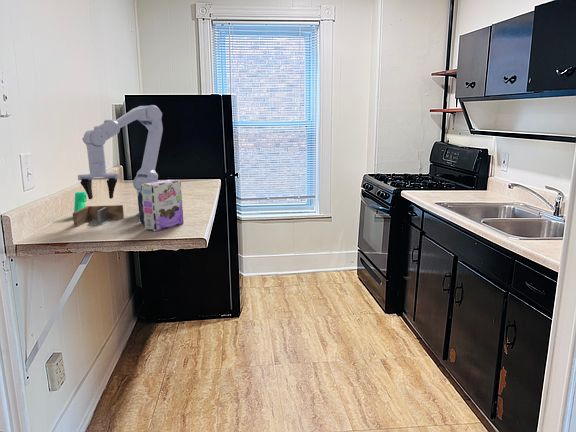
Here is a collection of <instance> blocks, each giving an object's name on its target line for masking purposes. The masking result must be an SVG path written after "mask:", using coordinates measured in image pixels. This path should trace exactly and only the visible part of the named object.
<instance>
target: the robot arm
mask: <svg viewBox="0 0 576 432" xmlns="http://www.w3.org/2000/svg"><path fill="white" fill-rule="evenodd" d="M162 117H163V112H162V111H161V109H160V108H159V107H158V106H157V105H155V104H150V105H139V106H137V107H134V108H132V109H130V110H129V111H128V112H126V113H125V114H123V115H122V116H120V117H119V118H116V119H115V120H114V119H104V121H103V123H102V124H99V125H97V126H96V125H95V126H94V127H93V129H92V130H91V129H90V130H89V129H88V130H86V131H85V132H84V134H83V137H82V141H83V143H84V144H85V146H86V151H87V159H88V168H89V174H87V173H86V174H78V175H77V180H78V181H80V182H79V183H80V185H81V186H82V187H83V189H84V190H85V191H84V192H86V196H87V197H88V198H87V199H88V200H92V199H93V198H94V197H93V189H92V188H93V186H92V183H93V181H94V180H98V181H99V180H100V181H101V180H106V185H107V189H108V197H109V199H110V200H111V199H113V198H114V192H115V188H116V185H117V183H118V180H119V179H120V174H119V173H107V166H106V156H105V150H104V149H105V148H104V145H105V143H106V142H107V140H109V139H111V138H112V137H114V136H116V135H118V134H119V133H120V131H121V128H123V127H125V126H127V125H129V124H131V123H132V122H135V121H138V122H139V123H141V124H142V125H143V126H145V128H146V129H147V130H148V132H147V138H146V142H145V147H144V152H143V159H142V162H141V163H142V164H141V167H140V169H139V170H137V172H136V176H135V177H134V178H133V181H132V185H133V188H134V189H135V190H136V193H137V196H138V195H139V192H141V184H147V183H153V182H159V174H158V173H157V172H156V166H157V162H158V158H159V157H158V156H159V151H160V148H161V147H160V146H161V142H162V137H163V131H164V128H163V127H164V126H163V121H162ZM135 215H136V216H139V212H137V213H136V214H135Z"/></svg>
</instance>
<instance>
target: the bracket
mask: <svg viewBox="0 0 576 432" xmlns="http://www.w3.org/2000/svg"><path fill="white" fill-rule="evenodd" d="M97 217H98V218H95V219H91V220H89V221H87V223H88V224H89V225H88V224H87V225H88V226H91V225H90V224H103V223H104V222H106V221H107V220H109V219H108V209H107V207H103V208H102V209H100V210H98V211H97ZM109 221H110V220H109ZM107 222H108V221H107ZM107 222H106V223H107ZM104 224H105V223H104ZM104 224H103V225H104Z"/></svg>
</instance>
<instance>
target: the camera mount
mask: <svg viewBox="0 0 576 432" xmlns="http://www.w3.org/2000/svg"><path fill="white" fill-rule="evenodd" d="M87 197H88V195H87V193H86V191H75V193H74V206H73V208H74V209H73V213H74V212H76V211H78V210H80V209H82V208H84V207H86V203H87V199H88V198H87Z"/></svg>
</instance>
